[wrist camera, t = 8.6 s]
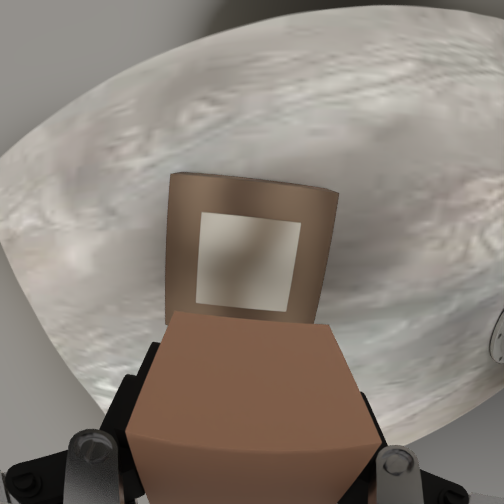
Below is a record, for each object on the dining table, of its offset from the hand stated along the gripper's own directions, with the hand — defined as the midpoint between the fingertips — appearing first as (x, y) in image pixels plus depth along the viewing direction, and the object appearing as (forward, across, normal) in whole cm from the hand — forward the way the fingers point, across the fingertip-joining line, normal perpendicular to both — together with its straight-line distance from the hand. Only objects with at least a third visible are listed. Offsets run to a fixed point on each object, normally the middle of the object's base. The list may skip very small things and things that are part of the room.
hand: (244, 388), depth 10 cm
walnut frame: (+17, 0, 0) cm, 17 cm away
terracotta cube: (+1, 0, 0) cm, 1 cm away
